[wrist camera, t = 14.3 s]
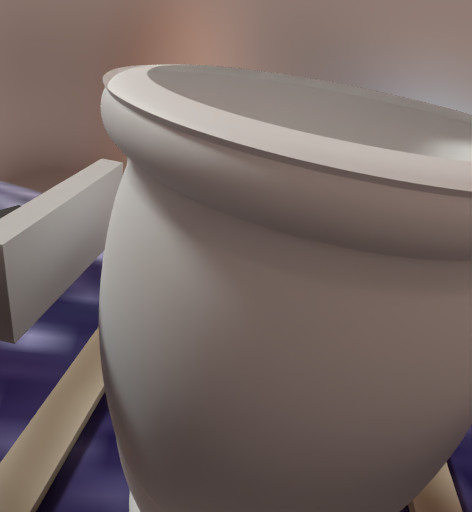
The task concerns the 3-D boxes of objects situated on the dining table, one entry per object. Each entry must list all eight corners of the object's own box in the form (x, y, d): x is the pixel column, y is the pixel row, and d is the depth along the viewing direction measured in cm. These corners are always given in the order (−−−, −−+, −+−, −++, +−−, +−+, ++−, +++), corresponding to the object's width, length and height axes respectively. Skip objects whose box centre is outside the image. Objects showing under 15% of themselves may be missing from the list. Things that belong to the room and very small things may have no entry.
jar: (155, 371, 22) (182, 51, 14) (355, 419, 21) (488, 108, 14) (37, 625, 12) (-52, 79, 5) (390, 725, 12) (858, 258, 4)
